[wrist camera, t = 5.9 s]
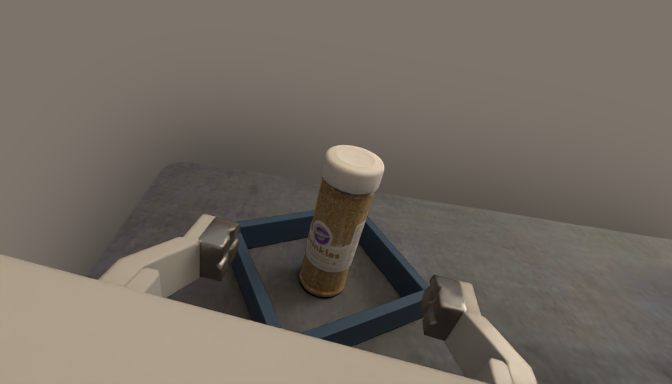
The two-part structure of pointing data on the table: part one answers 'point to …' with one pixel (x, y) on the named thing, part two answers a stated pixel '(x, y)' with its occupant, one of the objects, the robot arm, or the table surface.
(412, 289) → the square frame
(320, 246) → the sprinkles bottle
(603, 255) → the table surface
